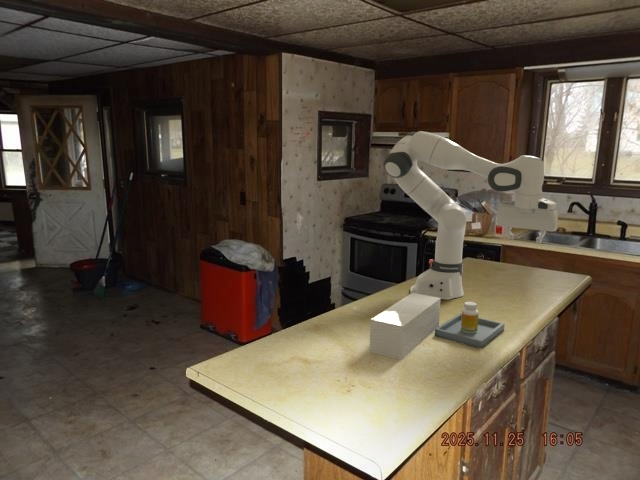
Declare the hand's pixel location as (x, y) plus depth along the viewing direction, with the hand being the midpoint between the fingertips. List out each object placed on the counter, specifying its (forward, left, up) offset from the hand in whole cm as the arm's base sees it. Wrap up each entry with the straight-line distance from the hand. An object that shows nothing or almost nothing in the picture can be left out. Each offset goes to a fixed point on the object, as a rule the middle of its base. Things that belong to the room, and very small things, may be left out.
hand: (524, 240), depth 170 cm
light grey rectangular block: (-39, -28, -30) cm, 56 cm away
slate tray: (-18, -19, -29) cm, 39 cm away
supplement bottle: (-19, -19, -28) cm, 39 cm away
